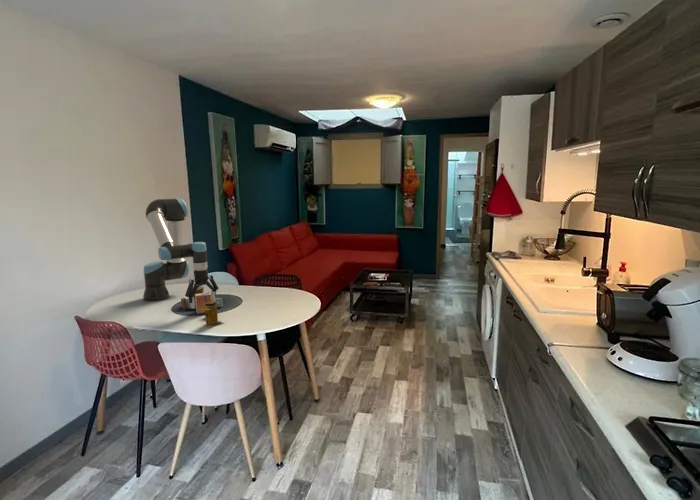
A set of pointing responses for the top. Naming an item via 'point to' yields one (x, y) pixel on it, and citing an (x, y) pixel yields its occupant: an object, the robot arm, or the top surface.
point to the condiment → (211, 314)
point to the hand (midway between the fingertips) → (203, 305)
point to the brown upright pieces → (183, 303)
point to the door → (188, 306)
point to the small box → (202, 301)
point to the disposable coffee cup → (198, 290)
